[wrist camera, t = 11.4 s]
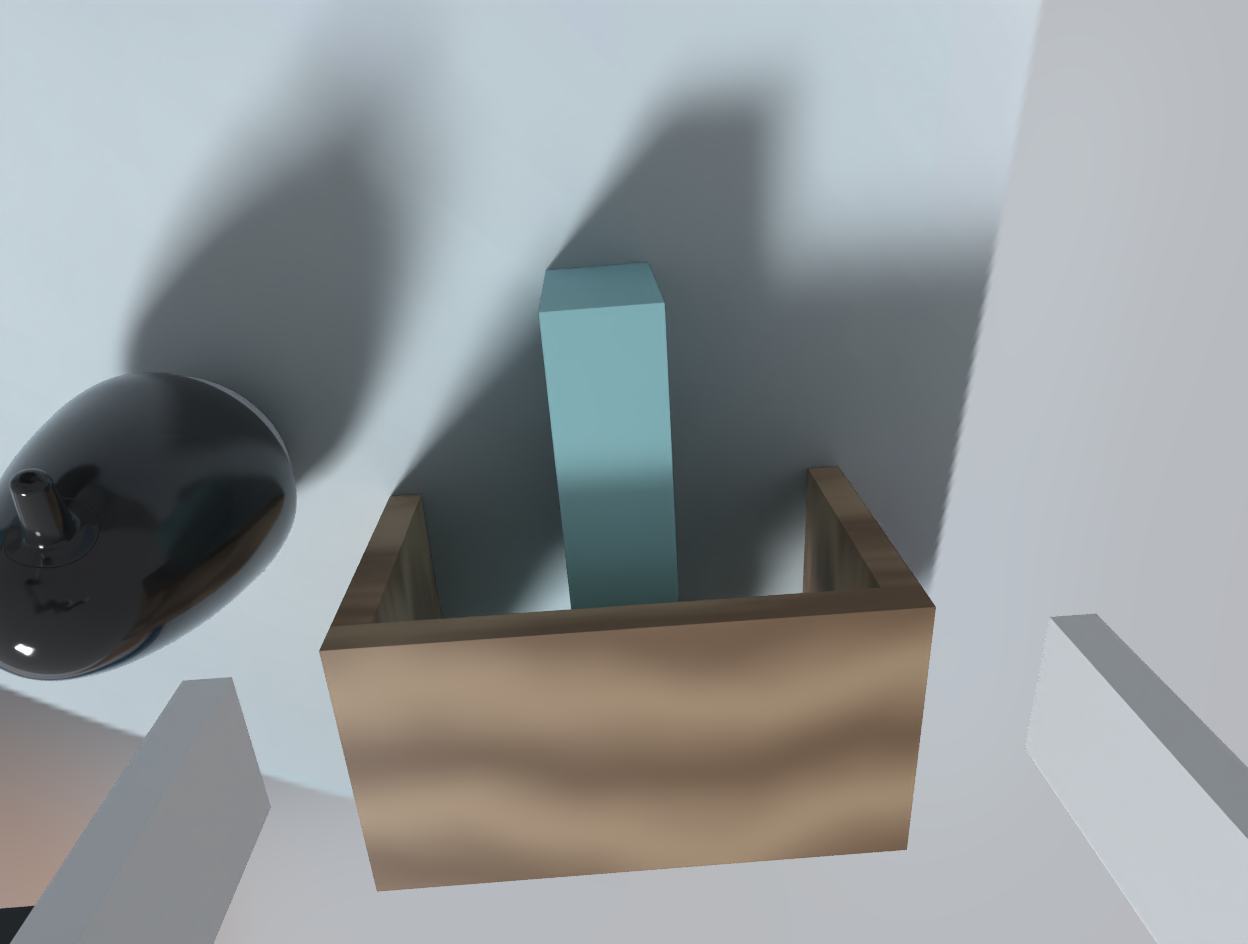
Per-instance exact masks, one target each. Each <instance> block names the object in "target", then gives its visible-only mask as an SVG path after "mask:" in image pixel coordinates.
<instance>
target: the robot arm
mask: <svg viewBox="0 0 1248 944" xmlns="http://www.w3.org/2000/svg"><path fill="white" fill-rule="evenodd" d="M1025 749H1026V751H1027V752H1028V754H1029V755H1030V757H1031V758H1032V760H1033V761H1034V763H1035V764H1036V766H1037V767H1038V768H1039V770H1040V772H1041V773H1042V775H1043V776H1044V777H1045V779H1046V780H1047V782H1048V783H1049V785H1050V786H1051V788H1052V789H1053V791H1054V792H1055V794H1056V795H1057V797H1058V798H1059V800H1060V801H1061V803H1062V804H1063V805H1064V807H1065V808H1066V810H1067V811H1068V813H1069V814H1070V816H1071V817H1072V819H1073V820H1074V822H1075V823H1076V824H1077V826H1078V828H1079V829H1080V831H1081V832H1082V833H1083V835H1084V836H1085V838H1086V839H1087V841H1088V842H1089V844H1090V845H1091V847H1092V848H1093V850H1094V851H1095V853H1096V854H1097V855H1098V857H1099V859H1100V860H1101V862H1102V863H1103V864H1104V866H1105V867H1106V869H1107V870H1108V872H1109V873H1110V875H1111V876H1112V878H1113V879H1114V881H1115V882H1116V884H1117V885H1118V886H1119V888H1120V890H1121V891H1122V892H1123V894H1124V895H1125V897H1126V898H1127V900H1128V901H1129V903H1130V904H1131V906H1132V907H1133V909H1134V910H1135V912H1136V913H1137V915H1138V916H1139V918H1140V919H1141V921H1142V922H1143V923H1144V925H1145V926H1146V928H1147V929H1148V931H1149V932H1150V934H1151V935H1152V937H1153V938H1154V940H1155V941H1156V943H1157V944H1248V767H1247V766H1246V765H1245V764H1244V763H1243V762H1242V761H1241V760H1240V759H1239V758H1238V757H1237V756H1236V755H1235V754H1234V753H1233V752H1232V751H1231V750H1230V749H1229V748H1228V747H1227V746H1226V745H1225V744H1224V743H1223V742H1222V741H1221V740H1220V739H1219V738H1218V737H1217V736H1216V735H1215V734H1214V733H1213V732H1212V731H1211V730H1210V729H1209V728H1208V727H1207V726H1206V725H1205V724H1204V723H1203V722H1202V721H1201V720H1200V719H1199V718H1198V717H1197V716H1196V715H1195V713H1194V712H1193V711H1192V710H1190V709H1189V707H1188V706H1187V705H1186V704H1184V702H1183V701H1182V700H1181V699H1180V698H1179V697H1178V696H1177V695H1176V694H1175V693H1174V692H1173V691H1172V690H1171V689H1170V688H1169V687H1168V686H1167V685H1166V684H1165V683H1164V682H1163V681H1162V680H1161V679H1160V678H1159V677H1158V676H1157V675H1156V674H1155V673H1154V672H1153V671H1152V670H1151V669H1150V668H1149V667H1148V666H1147V665H1146V664H1145V663H1144V662H1143V661H1142V660H1141V659H1140V658H1139V657H1138V656H1137V655H1136V654H1135V653H1134V652H1133V651H1132V650H1131V649H1130V648H1129V647H1128V645H1127V644H1126V643H1125V642H1124V641H1123V640H1122V639H1121V638H1120V637H1119V636H1118V635H1117V634H1116V633H1115V632H1114V631H1113V630H1112V629H1111V628H1110V627H1109V626H1108V625H1107V624H1106V623H1105V622H1104V621H1103V620H1102V619H1101V618H1100V617H1099V616H1098V615H1097V614H1086V615H1072V616H1059V617H1050V619H1049V624H1048V629H1047V635H1046V640H1045V646H1044V650H1043V656H1042V661H1041V666H1040V671H1039V677H1038V682H1037V687H1036V693H1035V698H1034V703H1033V708H1032V714H1031V720H1030V724H1029V729H1028V735H1027V740H1026V745H1025ZM270 808H271V807H270V803H269V800H268V796H267V793H266V790H265V786H264V783H263V780H262V776H261V773H260V770H259V766H258V763H257V760H256V756H255V753H254V750H253V746H252V743H251V740H250V736H249V733H248V730H247V726H246V723H245V720H244V716H243V713H242V710H241V706H240V703H239V700H238V696H237V693H236V690H235V686H234V683H233V680H232V677H228V678H214V679H201V680H187V681H182V683H181V684H180V686H179V687H178V689H177V690H176V692H175V693H174V695H173V696H172V698H171V699H170V701H169V702H168V704H167V705H166V707H165V708H164V710H163V712H162V713H161V715H160V716H159V718H158V719H157V721H156V722H155V724H154V725H153V727H152V728H151V730H150V731H149V733H148V734H147V736H146V737H145V739H144V740H143V742H142V743H141V745H140V747H139V748H138V750H137V751H136V753H135V754H134V756H133V757H132V759H131V760H130V762H129V763H128V765H127V766H126V768H125V769H124V771H123V772H122V774H121V775H120V777H119V778H118V780H117V782H116V783H115V785H114V786H113V788H112V789H111V791H110V792H109V794H108V795H107V797H106V798H105V800H104V801H103V803H102V804H101V806H100V807H99V809H98V811H97V812H96V813H95V815H94V816H93V818H92V820H91V821H90V823H89V824H88V826H87V827H86V829H85V830H84V832H83V833H82V835H81V836H80V838H79V839H78V841H77V843H76V844H75V846H74V847H73V848H72V850H71V851H70V853H69V855H68V856H67V858H66V859H65V861H64V862H63V864H62V865H61V867H60V868H59V870H58V872H57V873H56V874H55V876H54V877H53V879H52V881H51V882H50V883H49V885H48V887H47V888H46V890H45V891H44V893H43V894H42V896H41V897H40V899H39V900H38V902H37V903H36V905H35V906H27V907H15V908H2V909H0V944H213V943H214V941H215V938H216V936H217V934H218V931H219V929H220V926H221V924H222V922H223V919H224V917H225V915H226V912H227V910H228V908H229V905H230V903H231V900H232V898H233V895H234V893H235V891H236V889H237V886H238V884H239V881H240V879H241V877H242V874H243V872H244V869H245V867H246V865H247V862H248V860H249V857H250V855H251V852H252V850H253V848H254V846H255V843H256V841H257V839H258V836H259V834H260V831H261V829H262V827H263V824H264V822H265V820H266V817H267V815H268V812H269V810H270Z"/></svg>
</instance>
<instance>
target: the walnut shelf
mask: <svg viewBox="0 0 1248 944" xmlns="http://www.w3.org/2000/svg"><path fill="white" fill-rule="evenodd" d="M935 610H936V607H935V605H934V604H933V602H932V601H931V599H930V598H929V596H928V595H927V594H926V592H925V591H924V589H923V588H922V586H921V585H920V584H919V582H918V581H917V579H916V578H915V576H914V575H913V573H912V572H911V571H910V569H909V568H908V566H907V565H906V563H905V562H904V560H903V559H902V558H901V556H900V555H899V553H898V552H897V550H896V549H895V547H894V546H893V545H892V543H891V542H890V540H889V539H888V537H887V536H886V534H885V533H884V532H883V530H882V529H881V527H880V526H879V524H878V523H877V521H876V520H875V519H874V517H873V516H872V514H871V513H870V511H869V510H868V509H867V507H866V506H865V504H864V503H863V501H862V500H861V498H860V497H859V496H858V494H857V493H856V491H855V490H854V488H853V487H852V485H851V484H850V483H849V481H848V480H847V478H846V477H845V475H844V474H843V472H842V471H841V470H840V468H839V467H838V466H836V467H821V468H808V482H807V505H806V528H805V551H804V575H803V593H798V594H784V595H770V596H756V597H741V598H727V599H713V600H699V601H685V602H671V603H657V604H642V605H628V606H614V607H600V608H586V609H572V610H558V611H544V612H529V613H515V614H501V615H487V616H473V617H459V618H445V619H442V618H441V612H440V606H439V600H438V594H437V588H436V582H435V576H434V570H433V564H432V558H431V552H430V546H429V540H428V534H427V528H426V522H425V515H424V509H423V503H422V497H421V494H418V495H403V496H390V498H389V500H388V502H387V504H386V506H385V508H384V511H383V513H382V515H381V517H380V519H379V522H378V524H377V526H376V528H375V530H374V532H373V535H372V537H371V539H370V541H369V543H368V546H367V548H366V550H365V552H364V554H363V557H362V559H361V561H360V563H359V565H358V567H357V570H356V572H355V574H354V576H353V578H352V581H351V583H350V585H349V587H348V589H347V591H346V594H345V596H344V598H343V600H342V602H341V605H340V607H339V609H338V611H337V613H336V615H335V618H334V620H333V622H332V624H331V626H330V629H329V631H328V633H327V635H326V637H325V639H324V642H323V644H322V646H321V648H320V650H319V652H320V656H321V661H322V665H323V669H324V673H325V677H326V681H327V686H328V690H329V694H330V698H331V702H332V706H333V711H334V715H335V719H336V723H337V727H338V731H339V735H340V740H341V744H342V748H343V752H344V756H345V760H346V765H347V769H348V773H349V777H350V781H351V785H352V789H353V794H354V798H355V802H356V806H357V810H358V814H359V819H360V823H361V827H362V831H363V835H364V839H365V843H366V848H367V852H368V856H369V860H370V864H371V868H372V872H373V877H374V881H375V885H376V889H377V891H388V890H401V889H413V888H426V887H439V886H452V885H465V884H477V883H490V882H502V881H515V880H528V879H541V878H554V877H566V876H579V875H591V874H604V873H617V872H629V871H642V870H655V869H667V868H680V867H692V866H706V865H717V864H731V863H743V862H755V861H756V862H757V861H768V860H781V859H794V858H807V857H819V856H831V855H832V856H833V855H845V854H858V853H871V852H883V851H896V850H907V843H908V835H909V826H910V818H911V810H912V801H913V793H914V784H915V776H916V768H917V760H918V751H919V743H920V735H921V725H922V718H923V709H924V701H925V693H926V685H927V676H928V668H929V659H930V651H931V643H932V634H933V626H934V617H935Z"/></svg>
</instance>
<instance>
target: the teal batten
mask: <svg viewBox="0 0 1248 944" xmlns="http://www.w3.org/2000/svg"><path fill="white" fill-rule="evenodd" d="M539 321H540V330H541V339H542V348H543V357H544V366H545V375H546V384H547V393H548V402H549V411H550V420H551V430H552V439H553V448H554V457H555V466H556V475H557V484H558V493H559V502H560V511H561V520H562V529H563V538H564V548H565V557H566V566H567V575H568V584H569V593H570V602H571V610H572V609H586V608H600V607H614V606H628V605H642V604H657V603H671V602H679V593H678V572H677V551H676V530H675V509H674V488H673V467H672V446H671V426H670V405H669V384H668V363H667V342H666V321H665V302H664V300H663V297H662V295H661V292H660V290H659V288H658V285H657V283H656V280H655V278H654V275H653V273H652V271H651V268H650V266H649V263H648V262H643V263H630V264H617V265H604V266H592V267H579V268H566V269H553V270H546V273H545V278H544V284H543V290H542V296H541V302H540V307H539Z"/></svg>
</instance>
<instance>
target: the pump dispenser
mask: <svg viewBox="0 0 1248 944" xmlns="http://www.w3.org/2000/svg"><path fill="white" fill-rule="evenodd" d="M296 502H297V495H296V485H295V479H294V475H293V471H292V466H291V461H290V458H289V455H288V452H287V449H286V447H285V444H284V442H283V440H282V439H281V437H280V435H279V433H278V432H277V430H276V429H275V427H274V426H273V425H272V423H271V422H270V421H269V420H268V418H267V417H266V416H265V415H264V414H263V413H262V412H261V411H260V410H259V409H258V408H257V407H255V406H254V405H253V404H252V403H251V402H249V401H248V400H247V399H245V398H244V397H242V396H240V395H239V394H237V393H236V392H234V391H232V390H230V389H228V388H226V387H224V386H221V385H219V384H216V383H213V382H210V381H207V380H204V379H199V378H195V377H189V376H182V375H175V374H168V373H157V372H144V373H133V374H127V375H122V376H118V377H114V378H111V379H108V380H105V381H103V382H100V383H98V384H96V385H94V386H92V387H90V388H89V389H87V390H85V391H84V392H82V393H80V394H79V395H77V396H76V397H74V398H73V399H72V400H70V401H69V402H68V403H66V404H65V405H64V406H63V407H62V408H60V409H59V410H58V411H57V412H56V413H55V414H54V415H53V416H52V417H51V418H50V419H49V420H48V421H47V422H46V423H45V424H44V425H43V426H42V427H41V428H40V429H39V430H38V431H37V432H36V433H35V434H34V435H33V436H32V437H31V438H30V440H29V441H28V442H27V443H26V444H25V445H24V446H23V448H22V449H21V450H20V451H19V453H18V454H17V455H16V456H15V458H14V459H13V460H12V462H11V463H10V465H9V466H8V468H7V469H6V470H5V472H4V473H3V475H2V476H1V478H0V669H2V670H4V671H6V672H8V673H11V674H13V675H16V676H19V677H23V678H27V679H33V680H41V681H63V680H71V679H78V678H83V677H88V676H93V675H97V674H100V673H104V672H108V671H111V670H114V669H117V668H119V667H122V666H125V665H127V664H130V663H132V662H134V661H137V660H139V659H141V658H143V657H146V656H148V655H150V654H152V653H154V652H156V651H158V650H160V649H161V648H163V647H165V646H167V645H169V644H170V643H172V642H174V641H176V640H177V639H179V638H181V637H182V636H184V635H186V634H187V633H189V632H190V631H192V630H194V629H195V628H197V627H198V626H200V625H201V624H203V623H204V622H205V621H207V620H208V619H210V618H211V617H212V616H214V615H215V614H216V613H218V612H219V611H220V610H222V609H223V608H224V607H225V606H226V605H228V604H229V603H230V602H231V601H232V600H234V599H235V598H236V597H237V596H238V595H239V594H240V593H241V592H242V591H244V590H245V589H246V588H247V587H248V586H249V585H250V584H251V583H252V582H253V581H254V580H255V579H256V578H257V577H258V576H259V575H260V574H261V573H262V572H263V571H264V570H265V569H266V568H267V566H268V565H269V564H270V563H271V562H272V560H273V559H274V558H275V556H276V555H277V554H278V552H279V551H280V549H281V548H282V546H283V544H284V543H285V541H286V539H287V537H288V535H289V533H290V531H291V528H292V525H293V522H294V518H295V512H296Z"/></svg>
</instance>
